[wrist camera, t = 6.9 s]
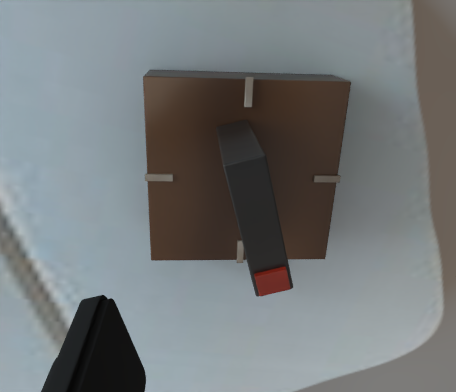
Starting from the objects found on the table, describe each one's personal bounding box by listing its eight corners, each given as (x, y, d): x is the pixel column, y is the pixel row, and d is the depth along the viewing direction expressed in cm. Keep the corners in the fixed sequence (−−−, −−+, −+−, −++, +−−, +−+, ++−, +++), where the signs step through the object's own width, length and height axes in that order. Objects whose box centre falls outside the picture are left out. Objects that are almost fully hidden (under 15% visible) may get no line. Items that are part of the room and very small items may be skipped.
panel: (334, 73, 22) (354, 80, 20) (313, 236, 26) (327, 262, 23) (147, 67, 22) (140, 74, 19) (154, 236, 26) (148, 263, 23)
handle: (215, 126, 20) (223, 167, 14) (247, 118, 20) (267, 156, 14) (241, 230, 22) (257, 301, 17) (269, 223, 22) (295, 292, 17)
